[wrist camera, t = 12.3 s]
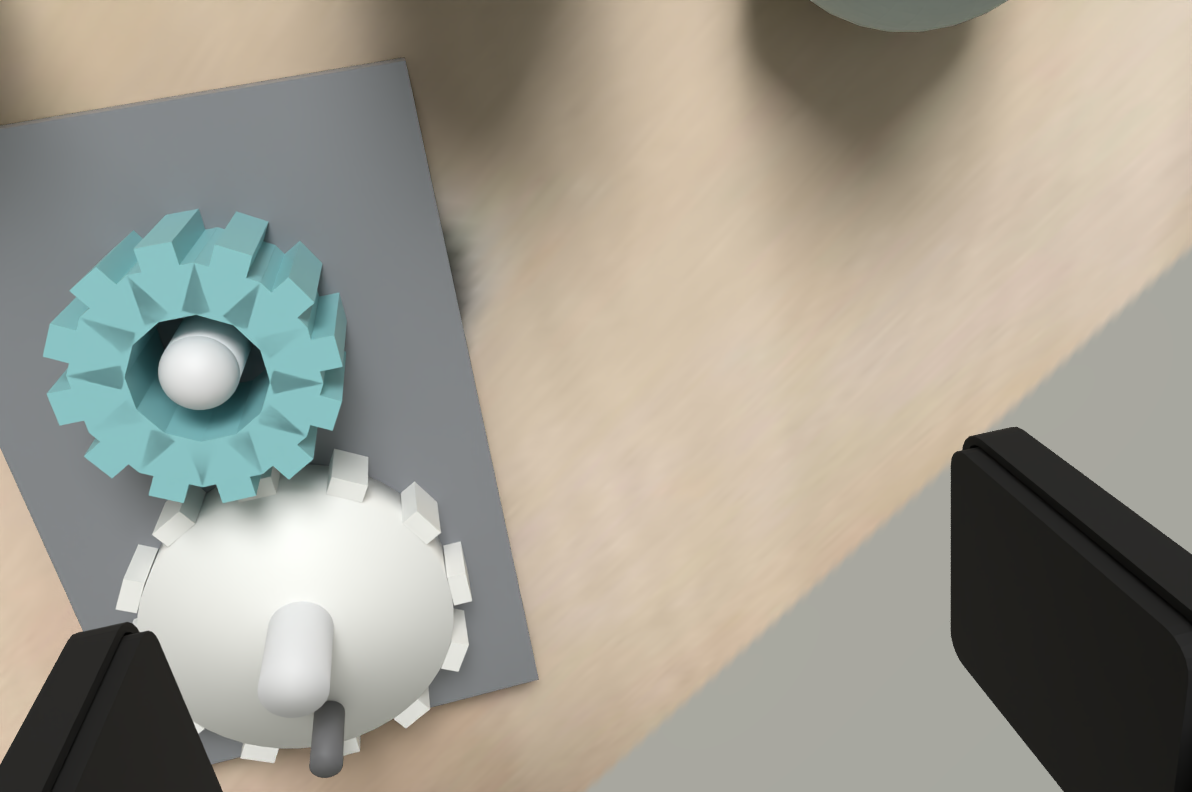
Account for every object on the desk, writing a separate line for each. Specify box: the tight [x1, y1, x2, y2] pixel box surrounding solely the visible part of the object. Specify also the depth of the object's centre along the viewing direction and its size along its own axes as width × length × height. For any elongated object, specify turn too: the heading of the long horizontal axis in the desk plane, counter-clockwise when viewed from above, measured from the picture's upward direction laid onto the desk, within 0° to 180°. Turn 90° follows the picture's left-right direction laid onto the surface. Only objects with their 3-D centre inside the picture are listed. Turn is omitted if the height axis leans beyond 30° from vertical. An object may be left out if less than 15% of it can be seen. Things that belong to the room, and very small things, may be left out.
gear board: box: [0, 58, 539, 778], centre depth 29 cm, size 14×22×6 cm, turn 8°
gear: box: [43, 209, 347, 503], centre depth 27 cm, size 7×7×4 cm
